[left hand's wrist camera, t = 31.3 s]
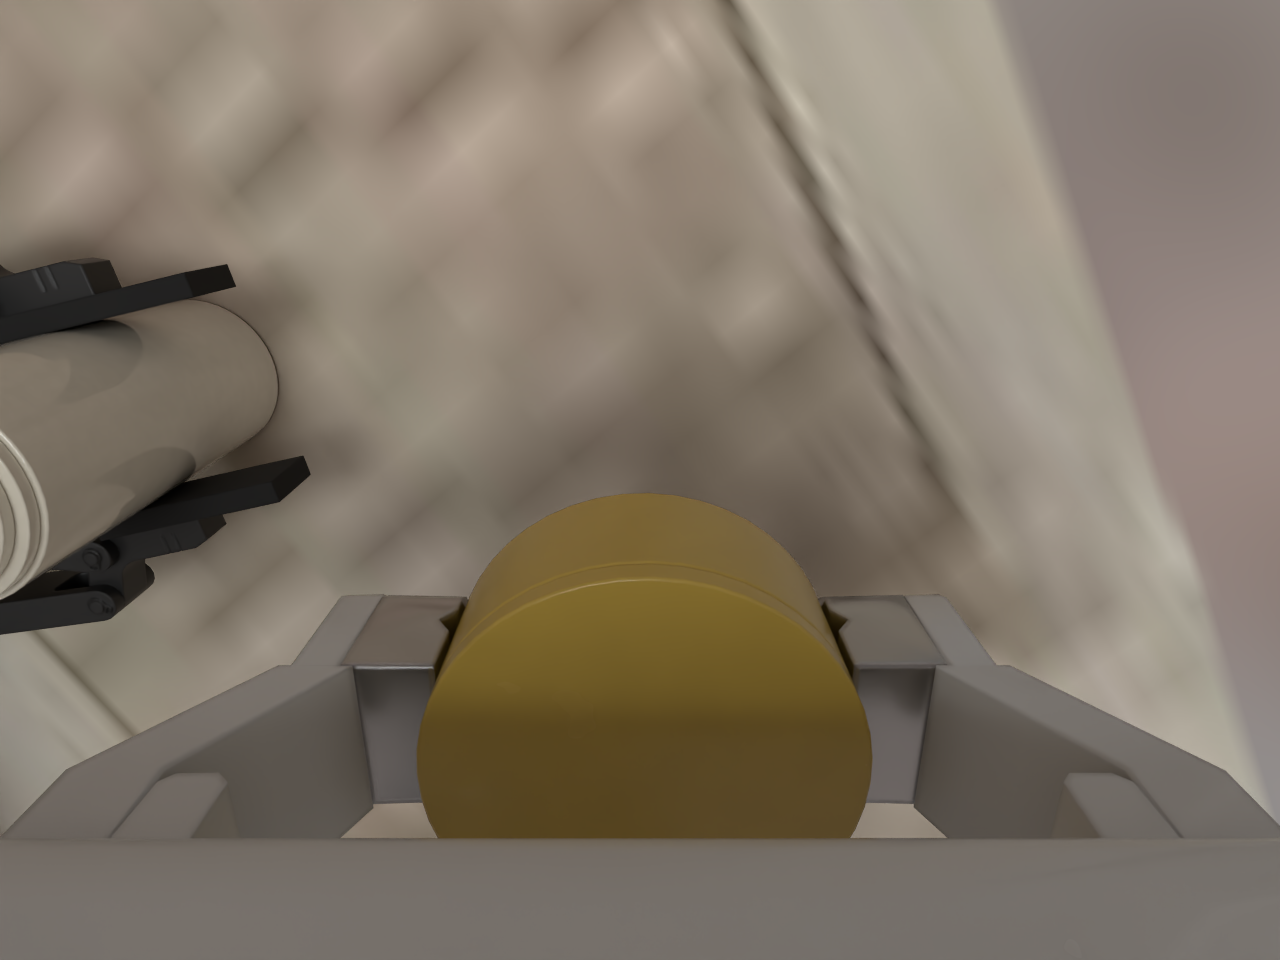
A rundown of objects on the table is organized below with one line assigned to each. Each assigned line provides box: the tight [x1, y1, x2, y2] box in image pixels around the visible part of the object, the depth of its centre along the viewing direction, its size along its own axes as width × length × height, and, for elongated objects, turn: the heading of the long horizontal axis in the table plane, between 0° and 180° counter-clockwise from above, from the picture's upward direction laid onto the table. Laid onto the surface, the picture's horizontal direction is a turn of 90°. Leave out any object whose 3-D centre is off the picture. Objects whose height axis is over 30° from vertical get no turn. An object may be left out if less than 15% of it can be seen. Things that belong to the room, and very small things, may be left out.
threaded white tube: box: [0, 300, 278, 600], centre depth 24 cm, size 6×6×18 cm
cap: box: [416, 493, 873, 838], centre depth 9 cm, size 4×4×2 cm
